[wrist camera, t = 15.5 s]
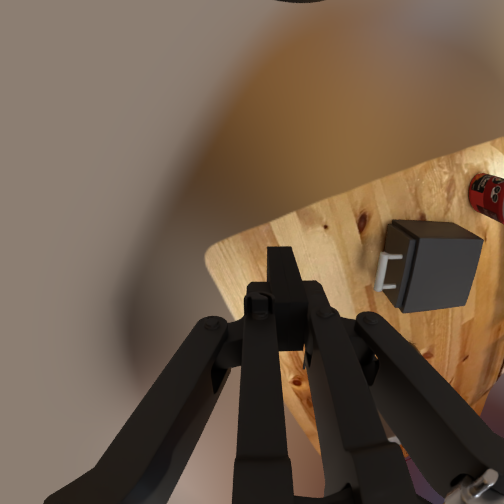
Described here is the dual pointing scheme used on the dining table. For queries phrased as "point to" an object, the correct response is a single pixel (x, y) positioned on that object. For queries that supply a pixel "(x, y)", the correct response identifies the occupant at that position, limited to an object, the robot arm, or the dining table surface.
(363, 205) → the dining table surface
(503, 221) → the canned food
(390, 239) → the drawer
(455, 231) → the small drawer cabinet
